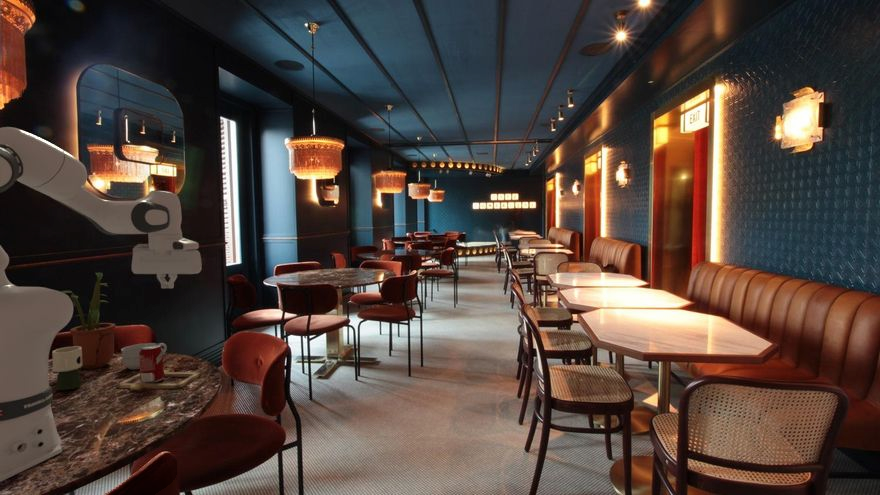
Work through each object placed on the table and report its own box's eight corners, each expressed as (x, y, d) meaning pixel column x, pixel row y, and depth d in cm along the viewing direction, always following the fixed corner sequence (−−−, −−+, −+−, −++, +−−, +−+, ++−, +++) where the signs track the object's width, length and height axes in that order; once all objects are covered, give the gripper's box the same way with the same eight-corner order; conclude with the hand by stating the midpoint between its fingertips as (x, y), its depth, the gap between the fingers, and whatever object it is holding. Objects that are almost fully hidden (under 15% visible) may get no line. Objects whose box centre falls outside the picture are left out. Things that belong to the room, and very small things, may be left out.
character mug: (83, 391, 136) (81, 351, 135) (53, 397, 132) (51, 355, 131) (83, 381, 145) (81, 343, 144) (55, 386, 140) (53, 347, 139)
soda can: (152, 385, 141) (151, 349, 140) (135, 384, 142) (133, 348, 141) (169, 378, 147) (167, 343, 147) (152, 376, 149) (150, 342, 148)
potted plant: (112, 358, 169) (108, 270, 167) (123, 367, 159) (118, 273, 157) (53, 370, 156) (48, 274, 154) (61, 380, 146) (55, 278, 144)
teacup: (120, 374, 152) (119, 351, 151) (124, 365, 161) (123, 344, 160) (166, 367, 159) (165, 346, 158) (167, 359, 168) (167, 339, 168)
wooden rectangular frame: (176, 390, 137) (176, 386, 137) (112, 389, 137) (111, 386, 137) (203, 373, 152) (203, 370, 152) (145, 373, 152) (145, 370, 152)
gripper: (125, 244, 130) (127, 289, 130) (191, 244, 129) (193, 289, 130) (140, 243, 136) (142, 286, 137) (203, 243, 135) (205, 286, 136)
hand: (167, 288), depth 133 cm, fingers closed
